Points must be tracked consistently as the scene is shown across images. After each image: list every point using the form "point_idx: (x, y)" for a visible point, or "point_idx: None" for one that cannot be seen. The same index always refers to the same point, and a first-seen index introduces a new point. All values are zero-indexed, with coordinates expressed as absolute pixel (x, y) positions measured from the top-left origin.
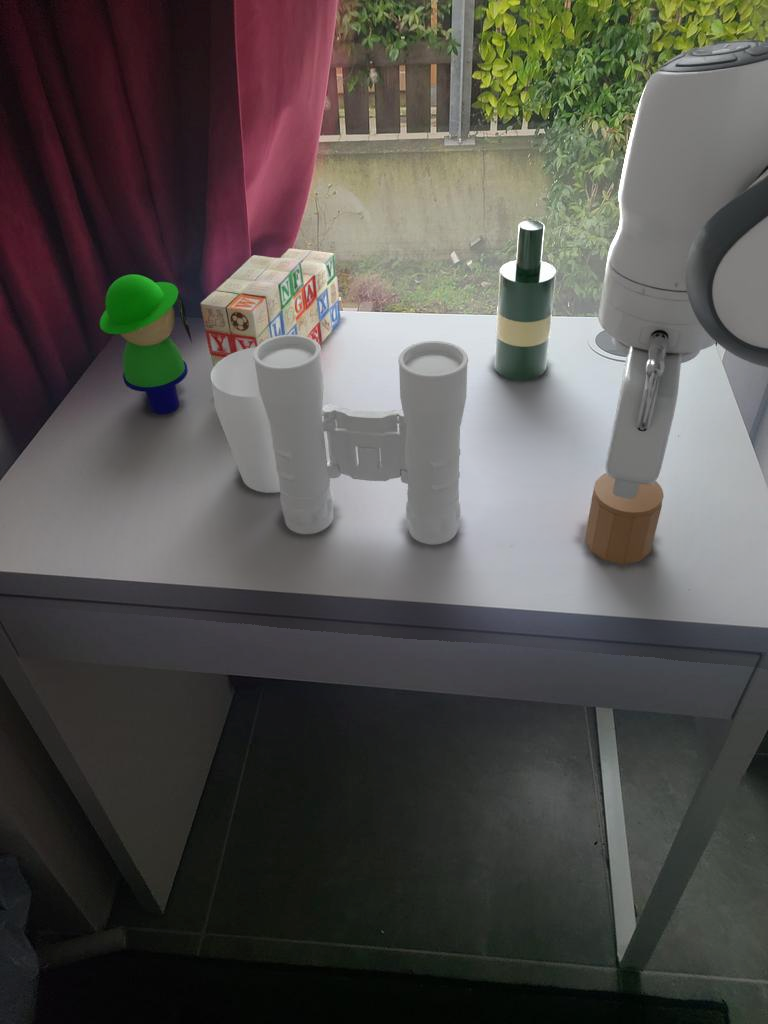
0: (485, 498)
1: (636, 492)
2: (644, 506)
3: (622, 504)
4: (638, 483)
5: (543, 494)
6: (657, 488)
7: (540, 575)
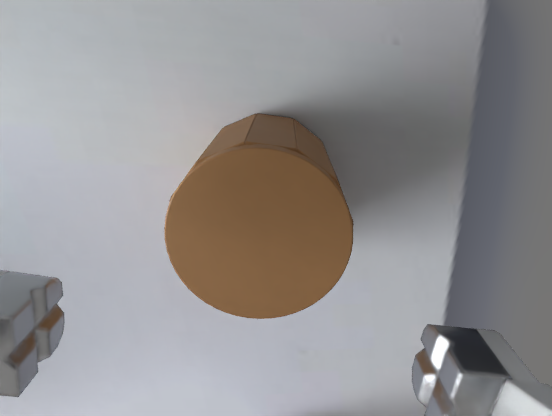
0: (187, 391)
1: (507, 344)
2: (325, 204)
3: (322, 258)
4: (532, 377)
5: (152, 308)
6: (236, 163)
7: (370, 308)
